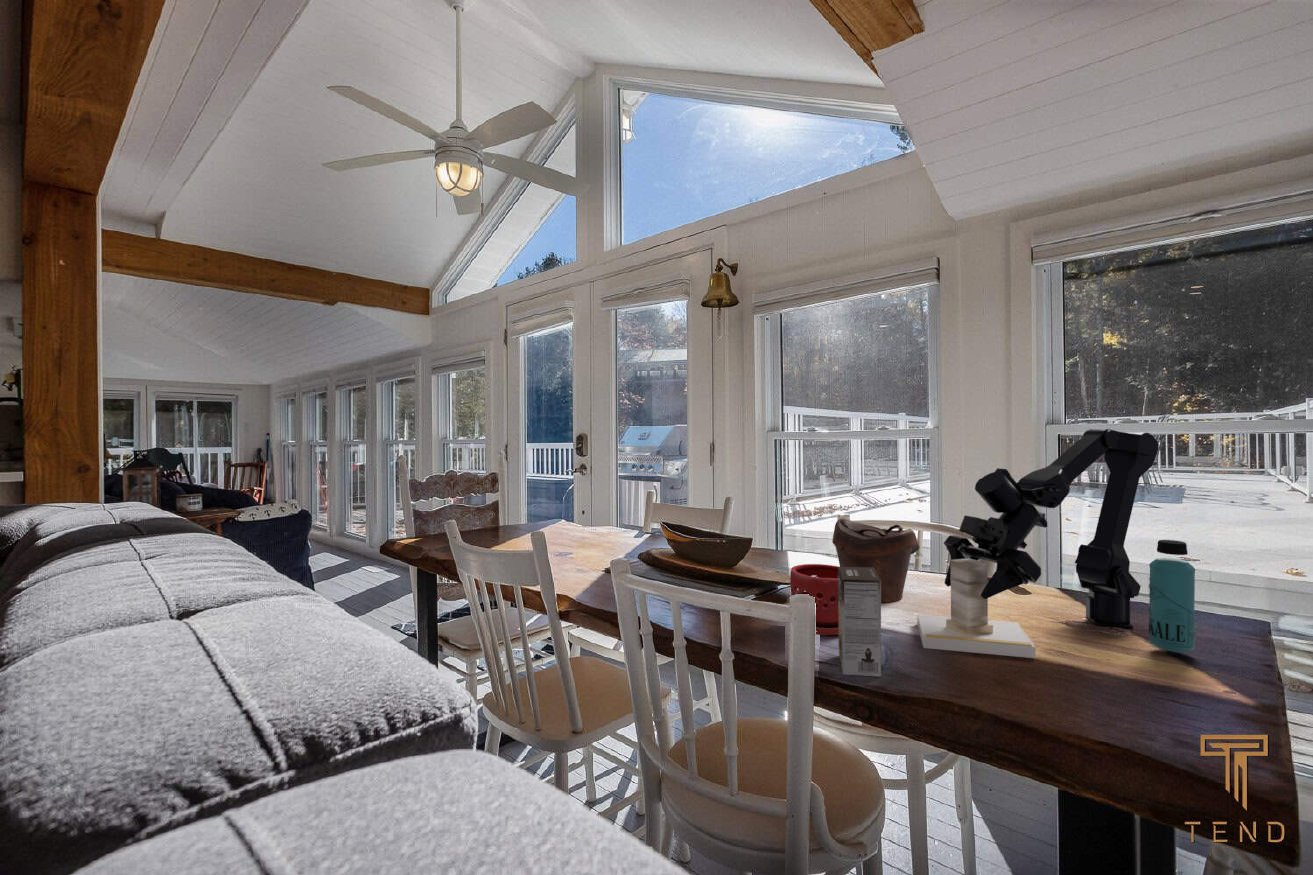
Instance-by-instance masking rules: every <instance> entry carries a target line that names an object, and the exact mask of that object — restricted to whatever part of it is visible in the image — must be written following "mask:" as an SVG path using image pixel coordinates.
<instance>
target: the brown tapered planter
mask: <svg viewBox="0 0 1313 875" xmlns="http://www.w3.org/2000/svg"><path fill="white" fill-rule="evenodd" d="M894 529H898V530H894ZM831 542H832V544H833V545H834V546H835V549H836V550H835V551H836V555H837V560H838V563H839V567H874V568H875V570H876V572H877V574H878V576H879V578H880V580H881V603H893V602H898V601H900V600H902V599H903V595H904V589H905V584H906V579H907V576H908V570H909V565H910V562H911V561H910V560H911V556H912V555H913V554H915V553H917V552H918V551H919V549H920V548H921V547H920V545H919V542H918V539H917V536H916V533H915V531H914V530H913V529H912V528H908V529H904V528H903V527H902V526H901V525H899V524H895V525H892V526H890V527H889V528H887V529H886V528H885V529H884V528H881V527H877V526H873V525H868V524H864V523H861V522H857V521H854V520H850V519H846V518H839V519H838V520H836V522H835V524H834V529H833V535H832V541H831Z"/></svg>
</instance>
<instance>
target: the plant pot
mask: <svg viewBox="0 0 1313 875" xmlns="http://www.w3.org/2000/svg"><path fill="white" fill-rule="evenodd" d="M838 567H840V565H839V566H838V565H831V564H823V563H822V564H821V563H807V564H806V563H804V564H798V565H794V566H793V567H791V569H790V574H789V580H790V581H789V582H790V587H789V588H790V597H791V596H792V595H795V594H809V595H810V596H813V597H815V603H816V631H817V632H816V634H815V635H817V636H837V635H839V620H838Z"/></svg>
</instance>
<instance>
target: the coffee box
mask: <svg viewBox="0 0 1313 875" xmlns="http://www.w3.org/2000/svg"><path fill="white" fill-rule="evenodd" d="M838 620H839V634H838V655H839V660H840V665H841V671H842V674H843V675H845V676H846V675H847V676H866V677H876V678H877V677H882V602H881V580H880V578H879V576H878V574H877V572H876V570H875V568H874V567H840V566H839V567H838Z"/></svg>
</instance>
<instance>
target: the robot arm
mask: <svg viewBox="0 0 1313 875" xmlns="http://www.w3.org/2000/svg"><path fill="white" fill-rule="evenodd" d="M1158 451H1159V442H1158V441H1157V439H1156V438H1155V437H1154V436H1153V434H1151V433H1150V432H1125V431H1124V432H1123V431H1119V430H1115V429H1111V428H1091V429H1088V430H1086V431H1084V432H1083V435H1082V437H1080V438H1079V439H1078V440H1077V441H1075V443H1073V444H1072V445H1071V446H1070V447H1068V449H1067V450H1065V451H1064V452H1063V453H1062V454H1061V455H1060V456H1059V457H1057V458H1056V459H1055V460H1054V461H1052V463H1050V464H1049V465H1047V466H1046V467H1045V466H1044V467H1043V468H1040V469H1036V470H1033V471H1031V472H1030V473H1027V474H1026V475H1024V476H1022V477H1021V478H1020V479H1019V480H1018V481H1017V482H1016V480H1015V479H1014V478H1013V477H1012V475H1011V473H1010V471H1009V470H1008V469H1007V468H996V469H995V471H994V472H991V473H988V474H986V475H984V476H983V477H981V478H979V479H977V481H976V483H975V486H974V490H975V492H976V493H977V494H978V496H980V498H982V500H983V501H984V502H985V503H986V505H987V506H988V507H989V508H990V509H991V510H992V511H993V512H994V513H997V514H1000V515H999V517H998V518H997V517H989V518H988V519H985V518H980V517H976V516H971V515H964V516H963V518H962V520H961V523H960V527H959V530H958V531H959V532H960V533H965V534H967V535H968V536H972V539H971V540H972V541H973V542H974V543H975V544H976V545H978V546H977V547H976V546H974V545H973V543H971V541H970V540H969V539H968V538H967V537H963V536H958V535H953V534H952V535H948V537H947V538H946V539H945V541H944V542H943V545H944V546H945V548H946V551H948V553H949V556H950V557H949V558H950V559H949V560H950V561H949V563H948V564H949V566H948V569H947V572H946V576H945V579H944V585H945V586H946V587H951V580H950V577H951V560H956V559H967V558H971V559H974V560H978V561H980V560H984V561H986V562H987V561H988V562H991V563H995V564H996V570H995V572H994V573H993V574H992V575H991V577H990V579H989V580H988V583H987V585H986V586H985V588H984V589H983V591H982V593H981V597H982V598H983V599H987V598H988V599H989V598H992V597H993V596H995V595H998V594H1000V593H1003V592H1005V591H1007V590H1008V591H1009V590H1010V589H1013V588H1016V587H1019V586H1021V585H1028V584H1029V582H1031V583H1034V584H1036V583H1037V581H1038V580H1039V578H1040V577H1041V576H1042V568H1041V566H1040V565H1039V564H1038V563H1037V562H1036V560H1035V559H1034V558H1033V557H1032V556H1031V555H1030V553H1029V552H1028V551H1023V550H1024V549H1026V547H1027V546H1028V544H1027V542H1025V540H1026V539H1027V538H1028V536H1029V535H1030V534H1031V532H1032V531H1033V529H1034V528H1035V527H1039V528H1045V529H1046V528H1047V527H1048V521H1047V519H1046V513H1044V512H1040V511H1039V510H1038V509H1037V507H1040V508H1047V509H1055V508H1057V507H1059V506H1060V505H1061V504H1062V503H1063V501H1065V499H1066V498H1067V496H1068V495H1069V494H1070V490H1071V484H1072V483H1073V482H1074V481H1075V480H1076V479H1077V478H1078V477H1080V475H1082V473H1084V472H1085V471H1086V470H1087V469H1088V468H1089V467H1090V466H1092V464H1094V463H1095V462H1096V461H1097V460H1098V459H1099V458H1101V456H1103V455H1104V456H1103V459H1104V461H1105V464H1106V466H1107V469H1108V471H1109V474H1108V479H1107V482H1106V487H1105V489H1104V490H1105V491H1104V496H1103V500H1102V503H1101V508H1100V512H1099V517H1098V520H1097V524H1096V529H1095V532H1094V537H1093V539H1092V540H1091V541H1090V542H1089V543H1087V544H1080V545H1079V547H1078V550H1077V551H1078V552H1077V556H1076V559H1075V561H1074V564H1075V573H1076V574H1077V577H1078V580H1079V583H1080V587H1081V588H1082V589H1086V590H1087V589H1088V595H1086V596H1085V616H1086V618H1088V619H1089V620H1090V621H1091V622H1092V623H1094V625H1097V626H1109V627H1119V628H1120V627H1123V628H1134V627H1135V625H1134V623H1132V622H1131V599H1135V597H1138V596H1139V595H1140V590H1141V585H1140V583H1139V582H1138V581H1137V580H1136V579H1135V578H1134V576H1133V574H1131V572H1130V563H1131V562H1130V559H1129V556H1128V554H1127V551H1126V550H1125V547H1124V546H1125V541H1126V537H1127V532H1128V529H1129V528H1128V527H1129V524H1130V520H1131V516H1132V512H1133V507H1134V502H1135V499H1136V495H1137V491H1138V487H1139V486H1138V485H1139V482H1140V479H1141V477H1142V476H1143V475H1144V474H1145V473H1146V472H1148V471H1149V470H1150V469H1151V468H1152V467H1153V464H1154V463H1155V460H1156V458H1157V455H1158ZM1020 549H1023V550H1020Z"/></svg>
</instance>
